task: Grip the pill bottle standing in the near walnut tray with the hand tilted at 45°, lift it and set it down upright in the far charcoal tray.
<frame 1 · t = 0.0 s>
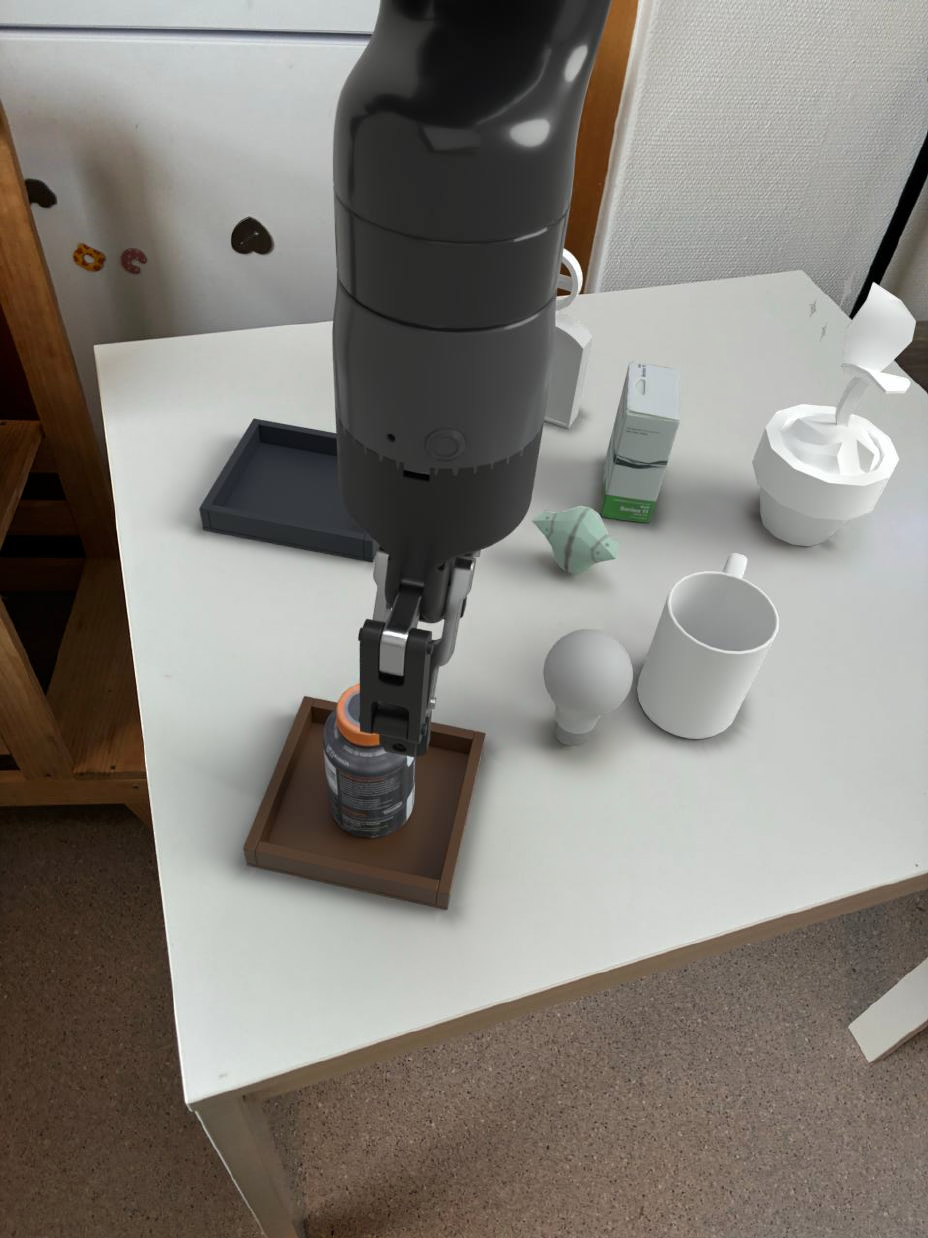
hand: (425, 675, 44), 21 cm above the table, tool pointing down, fingers open, 8 cm apart
mug: (691, 681, 73), on the table
lightbulb: (569, 739, 68), on the table
pill bottle: (371, 803, 63), resting on near tray
potted plant: (792, 530, 86), on the table
far tray: (311, 497, 84), on the table
near tray: (371, 805, 63), on the table
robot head: (571, 570, 80), on the table
gravestone: (531, 409, 96), on the table
ink box: (626, 493, 88), on the table
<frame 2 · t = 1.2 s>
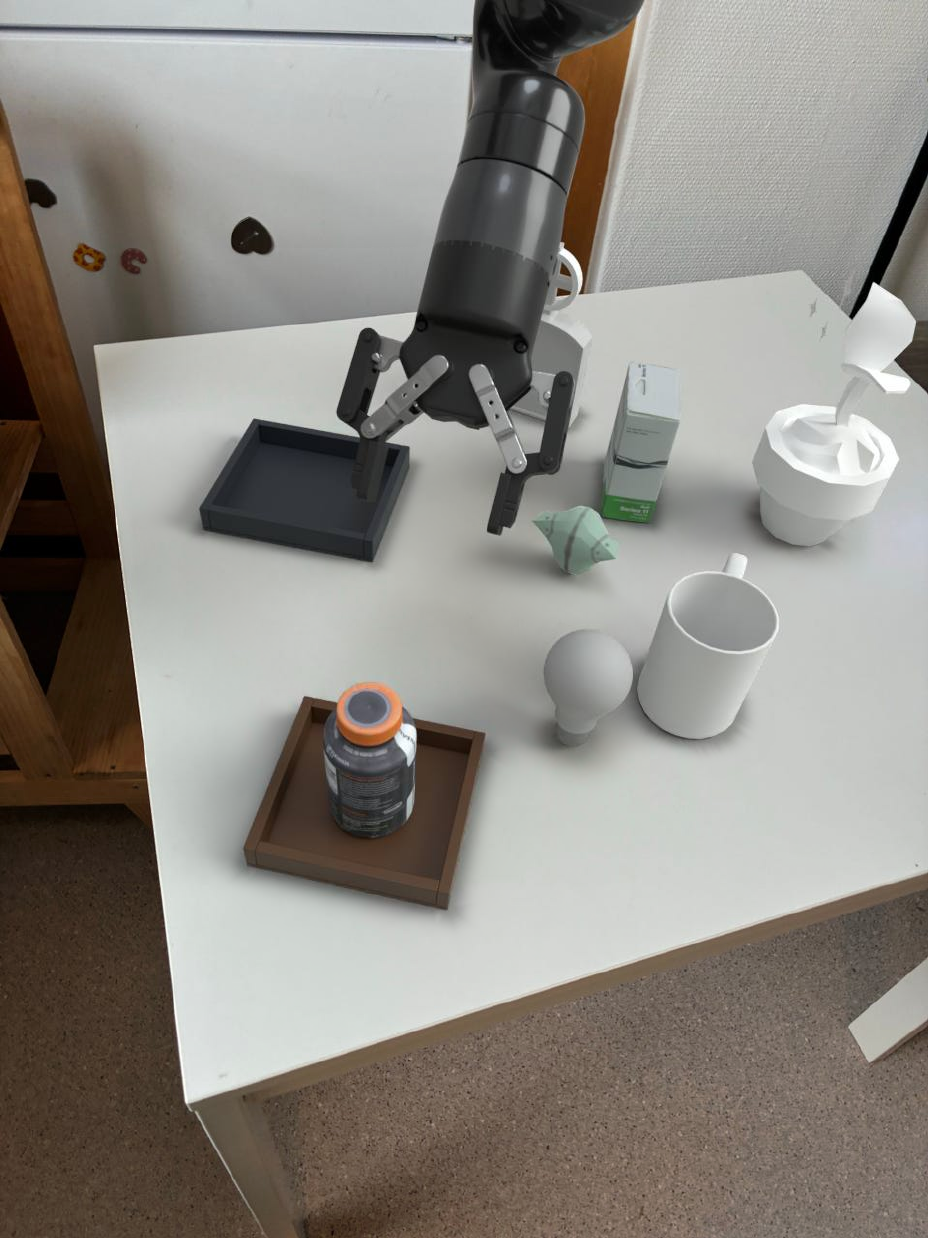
hand: (429, 517, 57), 18 cm above the table, tool tilted 45°, fingers open, 8 cm apart
nothing on the table moved.
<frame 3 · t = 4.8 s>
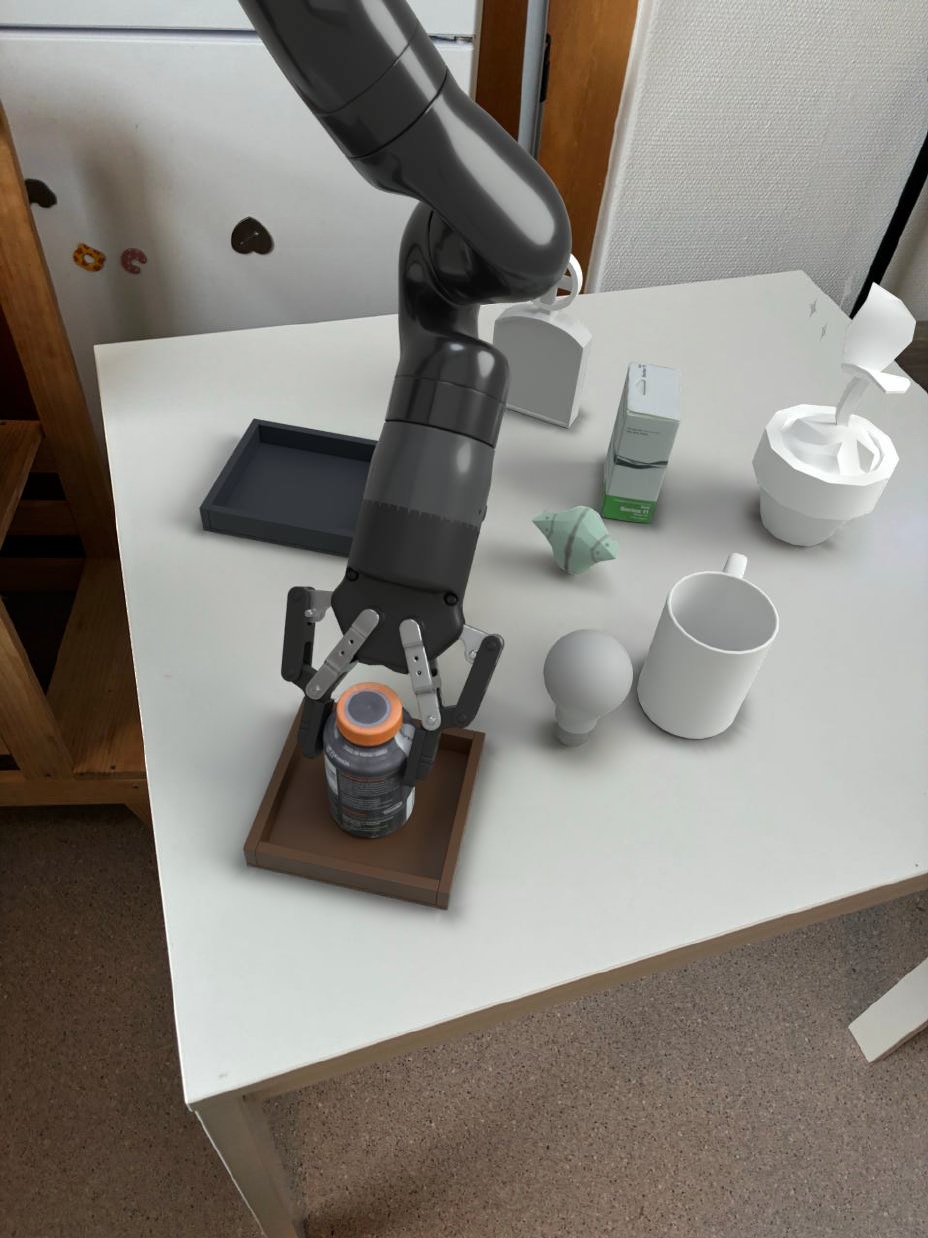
hand: (361, 769, 57), 7 cm above the table, tool tilted 45°, fingers closed on pill bottle, 6 cm apart
pill bottle: (371, 803, 63), resting on near tray, touching gripper
everything else where it was.
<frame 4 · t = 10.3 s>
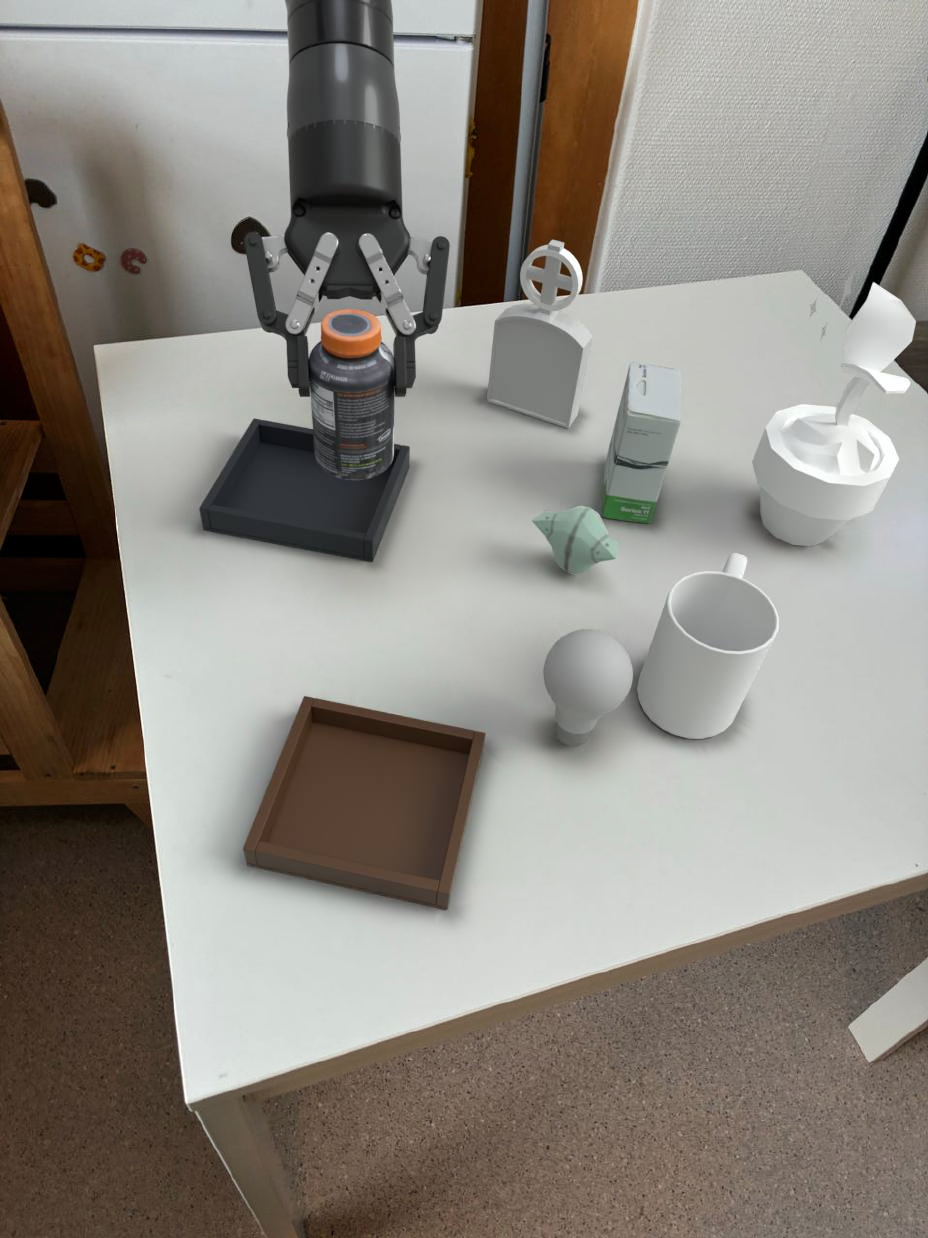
hand: (353, 394, 62), 20 cm above the table, tool tilted 45°, fingers closed on pill bottle, 6 cm apart
pill bottle: (354, 459, 68), point 13 cm above the table, touching gripper
everything else where it was.
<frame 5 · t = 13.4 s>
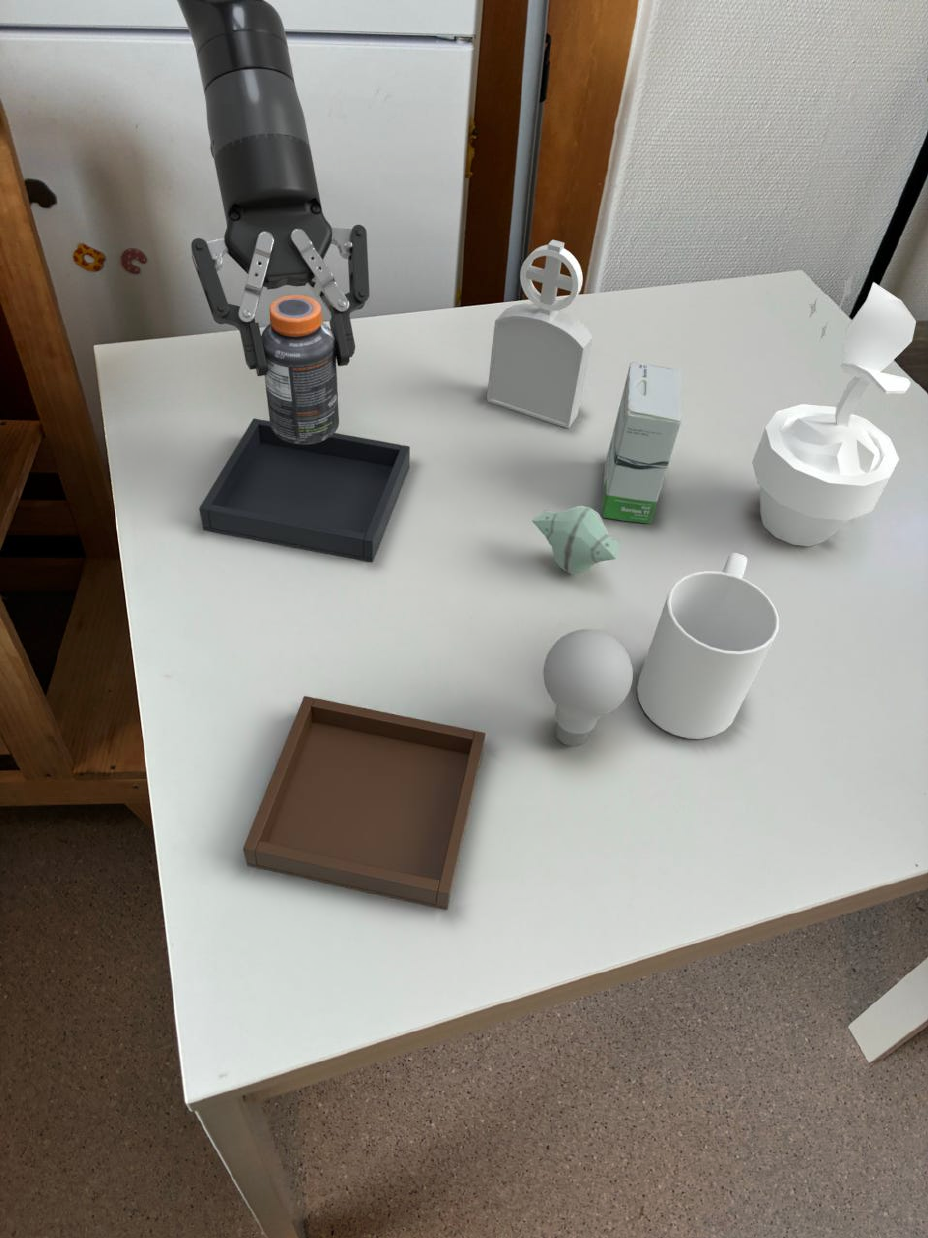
hand: (303, 368, 72), 15 cm above the table, tool tilted 45°, fingers closed on pill bottle, 6 cm apart
pill bottle: (305, 427, 78), point 8 cm above the table, touching gripper
everything else where it was.
when the fingers open (7 cm above the table, at t = 16.1 s): pill bottle stays where it is, resting on far tray.
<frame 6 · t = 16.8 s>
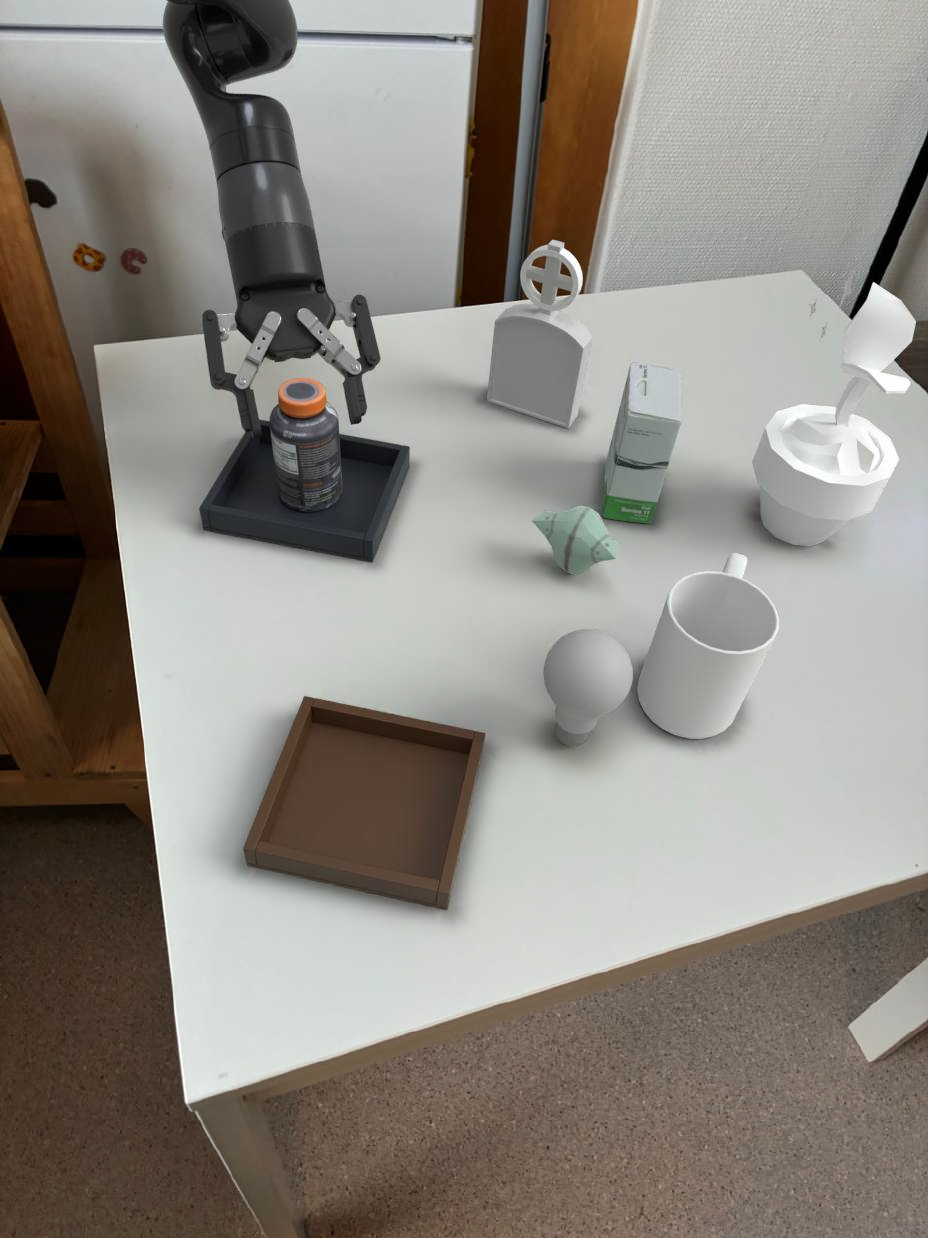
hand: (307, 429, 77), 9 cm above the table, tool tilted 45°, fingers open, 8 cm apart
pill bottle: (310, 494, 84), resting on far tray
everything else where it was.
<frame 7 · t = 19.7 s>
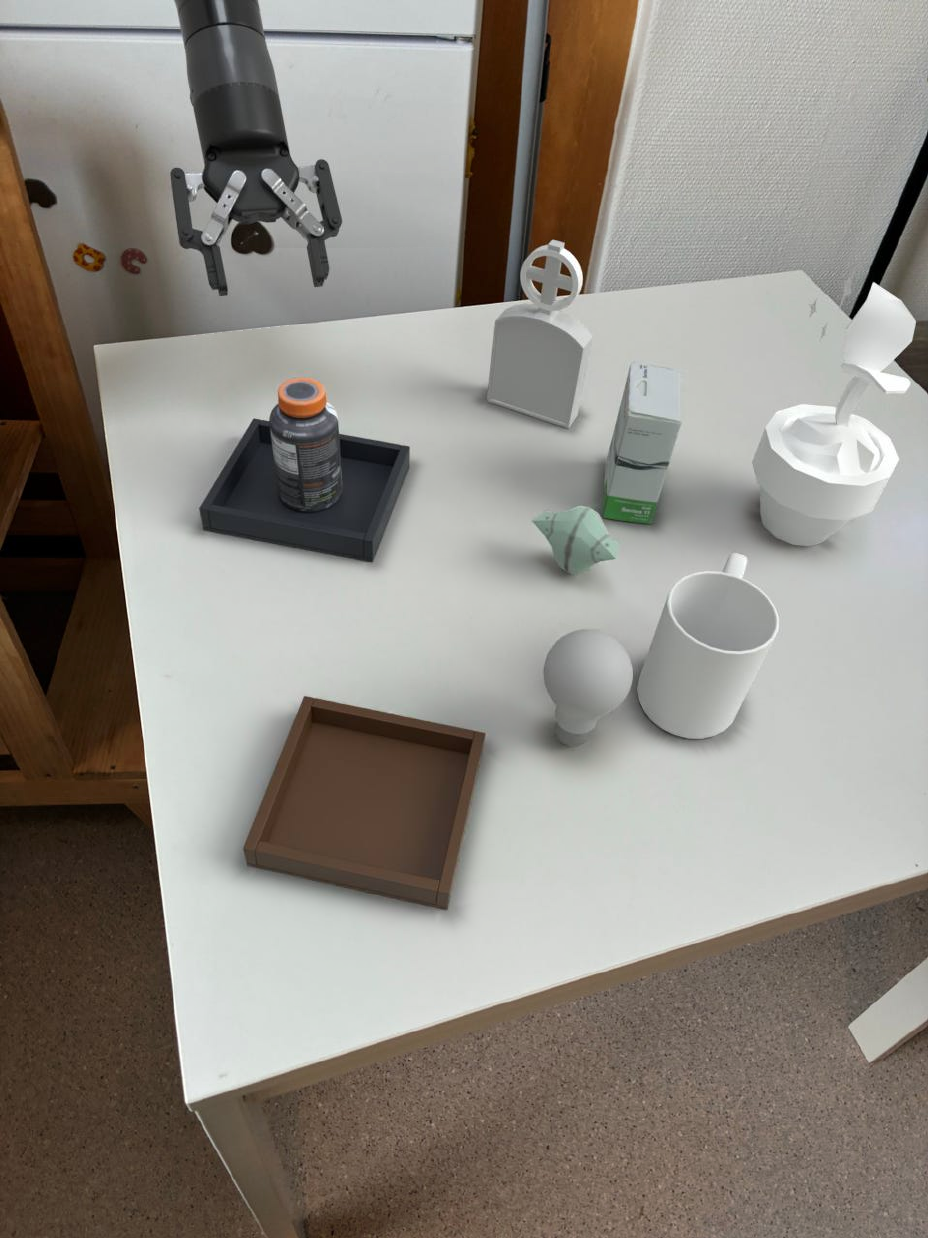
hand: (272, 288, 80), 15 cm above the table, tool tilted 45°, fingers open, 8 cm apart
nothing on the table moved.
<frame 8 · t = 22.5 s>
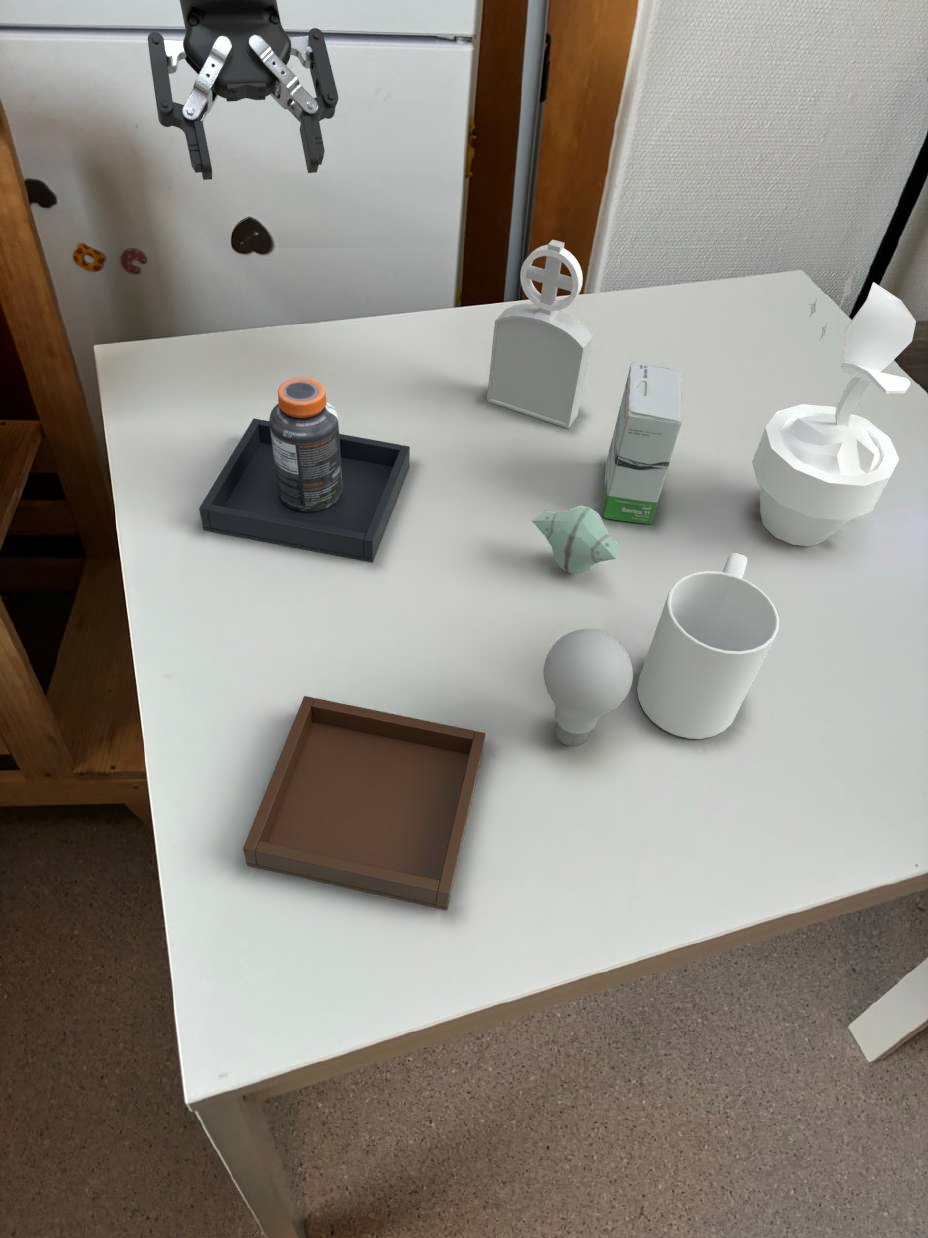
hand: (261, 172, 73), 25 cm above the table, tool tilted 45°, fingers open, 8 cm apart
nothing on the table moved.
at the end: pill bottle inside the target area in the far tray (0.2 cm from its centre), point 0.2 cm above the far tray's base; pill bottle tilted 0°; the gripper is holding nothing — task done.
